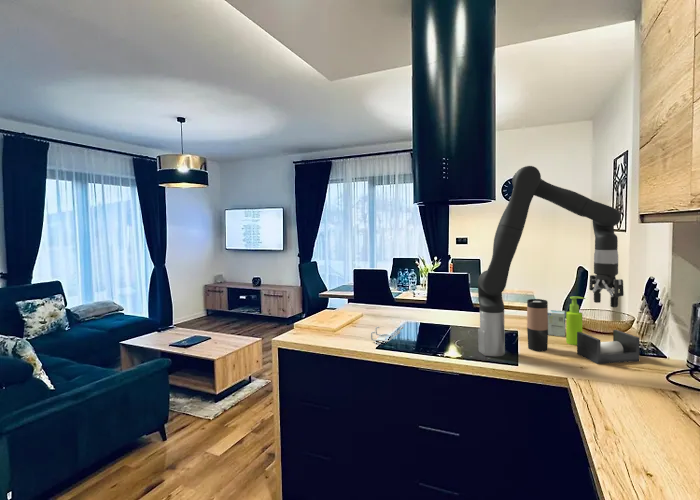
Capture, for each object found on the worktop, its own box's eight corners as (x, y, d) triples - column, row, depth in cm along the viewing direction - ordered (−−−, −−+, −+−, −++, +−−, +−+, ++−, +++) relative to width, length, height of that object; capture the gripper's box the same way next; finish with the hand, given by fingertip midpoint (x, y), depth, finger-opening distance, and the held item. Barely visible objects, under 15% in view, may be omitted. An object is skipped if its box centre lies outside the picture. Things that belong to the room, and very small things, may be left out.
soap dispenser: (587, 345, 156) (587, 298, 155) (569, 345, 158) (569, 298, 157) (581, 341, 162) (581, 295, 161) (564, 341, 164) (564, 295, 162)
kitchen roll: (599, 348, 138) (589, 339, 143) (595, 359, 140) (586, 351, 145) (627, 346, 139) (616, 338, 144) (623, 358, 141) (613, 349, 146)
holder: (597, 364, 136) (597, 340, 136) (577, 354, 147) (577, 331, 147) (639, 361, 137) (639, 337, 137) (616, 351, 148) (616, 329, 148)
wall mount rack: (377, 334, 184) (376, 323, 183) (405, 336, 180) (404, 324, 179) (369, 344, 169) (368, 331, 169) (399, 346, 165) (398, 333, 165)
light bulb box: (565, 333, 175) (565, 310, 174) (565, 337, 169) (564, 313, 169) (540, 330, 181) (540, 308, 180) (538, 334, 175) (538, 311, 174)
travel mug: (547, 346, 157) (547, 299, 156) (548, 352, 150) (548, 302, 149) (527, 345, 160) (526, 298, 159) (527, 350, 153) (527, 301, 152)
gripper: (583, 260, 147) (582, 301, 148) (610, 263, 133) (610, 309, 134) (601, 259, 148) (601, 300, 149) (630, 263, 133) (630, 308, 134)
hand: (605, 304), depth 141 cm, fingers open, 8 cm apart
